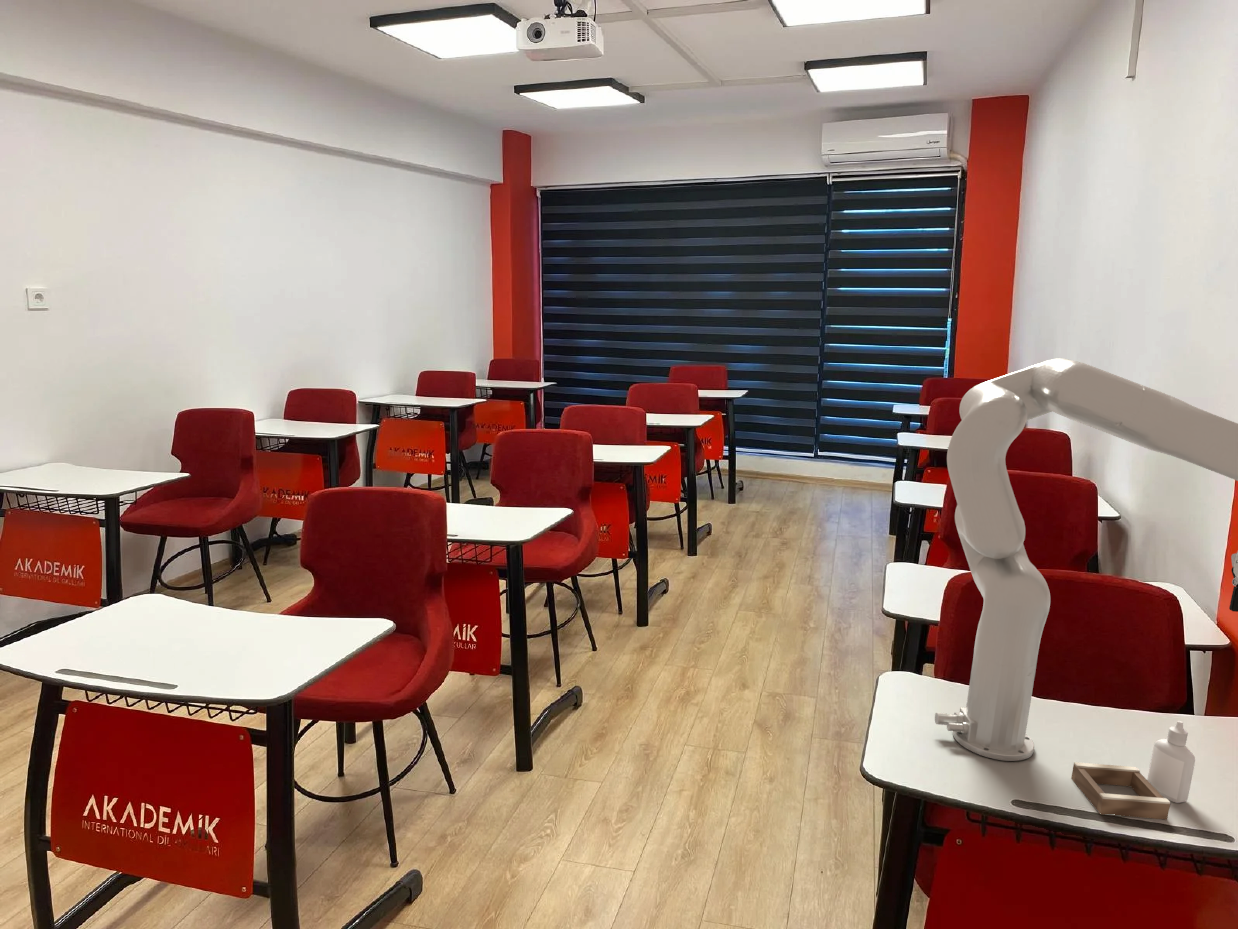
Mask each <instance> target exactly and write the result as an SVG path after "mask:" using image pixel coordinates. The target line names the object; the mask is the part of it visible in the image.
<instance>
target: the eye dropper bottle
mask: <svg viewBox="0 0 1238 929" xmlns="http://www.w3.org/2000/svg"><path fill="white" fill-rule="evenodd" d="M1188 734H1189V732H1188V731H1187V730H1186V729H1185V728H1184V722H1183V721H1181V720H1177V721H1176V723H1175V725H1174V726H1173V725H1172V726H1170V727H1168V732H1167V737H1166V738H1161V739H1157V740H1156V741H1155V742H1154V744H1153V748H1152V751H1151V752H1152V753H1151V756H1150V757H1151V758H1150V762H1149V768H1148V772H1147V778H1146V780H1147V781H1148V782H1149V783H1150V784H1151V785H1152V786H1153V787H1154V788H1155V789H1156V790H1157V791H1158V792H1159V793H1160V794H1161V795H1162V796H1163V797H1164V798H1167V799H1168V800H1169V801H1170V802H1171V803H1176V804H1180V803H1186V802H1187V801H1188V799H1189V794H1190V789H1191V784H1192V780H1193V775H1194V769H1195V762H1196V757H1195V754H1194V753H1193V751H1191V750H1190V749H1189V748H1188V746H1186V745H1187V741H1188Z"/></svg>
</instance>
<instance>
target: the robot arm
mask: <svg viewBox="0 0 1238 929" xmlns="http://www.w3.org/2000/svg"><path fill="white" fill-rule="evenodd" d="M958 408H959V416H960V419H961V421H960V422H959V423H958V425H957V426H956V428H955V429H954V432H953V433H952V435H951V438H950V441H949V444H948V448H947V451H946V452H947V453H946V465H947V471H948V476H949V478H950V483H951V487H952V490H953V493H954V497H955V498H954V499H955V500H956V507H955V512H954V523H955V526H956V530H957V533H958V537H959V539H960V543H961V546H962V549H963V552H964V555H965V558H966V561H967V564H968V567H969V570H970V573H971V575H972V579H973V581H974V583H975V585H976V587H977V589H978V591H979V592H980V594H981V597H982V598H983V604H982V605H983V606H982V611H981V614H980V618H979V621H978V624H977V627H976V628H977V630H976V635H975V641H974V648H973V656H972V657H973V658H972V663H971V670H970V679H969V685H968V691H967V692H968V694H967V699H966V707H964V706H962V707H961V706H960V707H959V712H954V713H953V714H950V713H944V712H935V714H934V723H935V724H936V725H937V726H938V725H941V726H946V729H947V731H948V732H949V731H950V732H952V736H953V738H954V739H955V740H956V742H958V744H960V746H962V747H963V748H965V749H966V750H968V751H970V752H972V753H974V754H977V755H979V756H983V757H985V758H990V759H992V760H998V761H1005V762H1017V761H1019V762H1020V761H1023V760H1027V759H1029V758H1030V757H1032V756H1033V754H1034V750H1035V743H1034V741H1033V740H1032V738H1031V737H1030V736H1029V735H1028V734H1027V730H1028V729H1027V727H1028V721H1029V714H1030V708H1031V703H1032V702H1031V701H1032V695H1033V688H1034V681H1035V678H1036V672H1037V671H1036V669H1037V663H1038V655H1039V652H1040V650H1039V649H1040V644H1041V638H1042V635H1043V631H1044V627H1045V624H1046V622H1047V618H1048V615H1049V612H1050V609H1051V607H1050V606H1051V593H1050V589H1049V586H1048V583H1047V581H1046V578H1044V576H1043V575H1042V573H1041V572H1040V570H1038V569H1037V567H1036V566H1035V565H1034V564H1033V563H1032V562H1031V560H1030V559H1029V557H1028V554H1027V551H1026V549H1025V548H1026V547H1025V545H1024V543H1025V542H1024V541H1025V540H1026V525H1025V520H1024V518H1023V515H1022V513H1021V511H1020V507H1019V505H1018V502H1017V499H1016V497H1015V496H1016V495H1015V494H1014V490H1013V487H1012V484H1011V481H1010V476H1009V473H1008V469H1007V465H1006V464H1007V463H1006V456H1007V453H1008V450H1009V447H1010V446H1011V444H1012V443H1013V442H1014V440H1015V439H1017V437H1018V436H1019V435H1020V434H1021V433H1022V432H1023V430H1024V428H1025V426H1026V424H1027V421H1029V420H1032V419H1035V418H1038V417H1042V416H1045V415H1048V414H1050V413H1052V412H1053V413H1054V414H1058V415H1059V416H1062V417H1064V418H1067V419H1070V420H1072V421H1075V422H1077V423H1080V424H1083V425H1086V426H1088V427H1090V428H1093V429H1096V430H1098V431H1101V432H1103V433H1106V434H1109V435H1111V436H1114V437H1115V438H1118V439H1121V440H1125V441H1127V442H1128V443H1132V444H1134V445H1137V446H1140V447H1142V448H1144V449H1147V450H1148V451H1153V452H1157V453H1160V454H1164V455H1167V456H1169V457H1170V456H1171V457H1174V458H1176V459H1180V460H1182V461H1185V462H1187V463H1190V464H1192V465H1196V466H1199V467H1200V468H1203V469H1206V470H1209V471H1212V472H1214V473H1217V474H1218V475H1221V476H1224V477H1226V478H1229V479H1233V480H1234V481H1237V482H1238V422H1235V421H1232V420H1230V419H1227V418H1224V417H1221V416H1219V415H1216V414H1213V413H1211V412H1208V411H1205V410H1203V409H1200V408H1198V407H1196V406H1194V405H1192V404H1189V403H1188V402H1186V401H1183V400H1181V399H1179V398H1176V397H1175V396H1172V395H1169V394H1166V393H1165V392H1162V391H1159V390H1156V389H1153V388H1151V387H1148V386H1146V385H1143V384H1140V383H1137V382H1134V381H1132V380H1129V379H1126V378H1125V377H1121V376H1118V375H1117V374H1114V373H1111V372H1109V371H1105V370H1103V369H1100V368H1097V367H1096V366H1092V365H1090V364H1088V363H1084V362H1081V361H1077V360H1072V359H1067V358H1062V357H1061V358H1059V357H1058V358H1052V359H1047V360H1044V361H1042V362H1040V363H1036V364H1034V365H1030V366H1028V367H1025V368H1022V369H1019V370H1016V371H1014V372H1010V373H1008V374H1005V375H1001V376H999V377H995V378H993V379H990V380H987V381H984V382H981V383H979V384H976V385H974V386H973V387H972V388H970V389H969V390H968V391H967V392H966V393H965V394H964V395H963V396H962V398H961V401H960V403H959V407H958ZM1230 558H1231V574H1232V576H1233V578H1232V580H1231V584H1232V586H1233V589H1232V593H1231V598H1230V603H1229V610H1230V611H1231V612H1238V551H1236V552H1235V553H1232V554H1231V556H1230Z"/></svg>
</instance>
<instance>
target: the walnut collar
mask: <svg viewBox="0 0 1238 929" xmlns="http://www.w3.org/2000/svg"><path fill="white" fill-rule="evenodd" d="M1143 775H1144V774H1143ZM1143 775H1142V773H1141V770H1140V769H1139V768H1138V767H1137V766H1127V765H1126V766H1125V765H1116V764H1103V763H1101V764H1100V763H1092V762H1091V763H1090V762H1089V763H1087V762H1077V761H1075V762H1073V766H1072V771H1071V778H1070V779H1071V780H1072V781H1073V783H1075V785H1076V786H1077V788H1078V789H1079V790H1080V792H1082V794H1083V795H1084V794H1085V795H1084V796H1085V798H1086V799H1087V798H1088V799H1087V800H1088V801H1089V802H1090V804H1091V803H1092V804H1093V805H1092V804H1091V805H1092V807H1094V809H1095V808H1096V809H1097V810H1098V811H1099V812H1098V811H1097V810H1096V809H1095V810H1096V811H1097V812H1098V814H1100V813H1101V814H1100V815H1104V814H1115V815H1114V816H1116V815H1121V816H1120V817H1130V818H1142V819H1153V820H1154V819H1155V820H1166V821H1167V820H1168V817H1169V812H1170V807H1171V801H1170V800H1168V799H1167V798H1164V797H1163V796H1162V795H1161V794H1160V793H1159V792H1158V791H1157V790H1156V789H1155V788H1154V787H1153V786H1152V785H1151V784H1150V783H1149V782H1148V781H1147V778H1146V777H1145V776H1143ZM1099 785H1109V786H1120V787H1130V788H1131V789H1132V790H1133V791H1134V792H1135V793H1136V795H1129V794H1116V793H1105V791H1103V789H1102V788H1101V787H1100V786H1099Z"/></svg>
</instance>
